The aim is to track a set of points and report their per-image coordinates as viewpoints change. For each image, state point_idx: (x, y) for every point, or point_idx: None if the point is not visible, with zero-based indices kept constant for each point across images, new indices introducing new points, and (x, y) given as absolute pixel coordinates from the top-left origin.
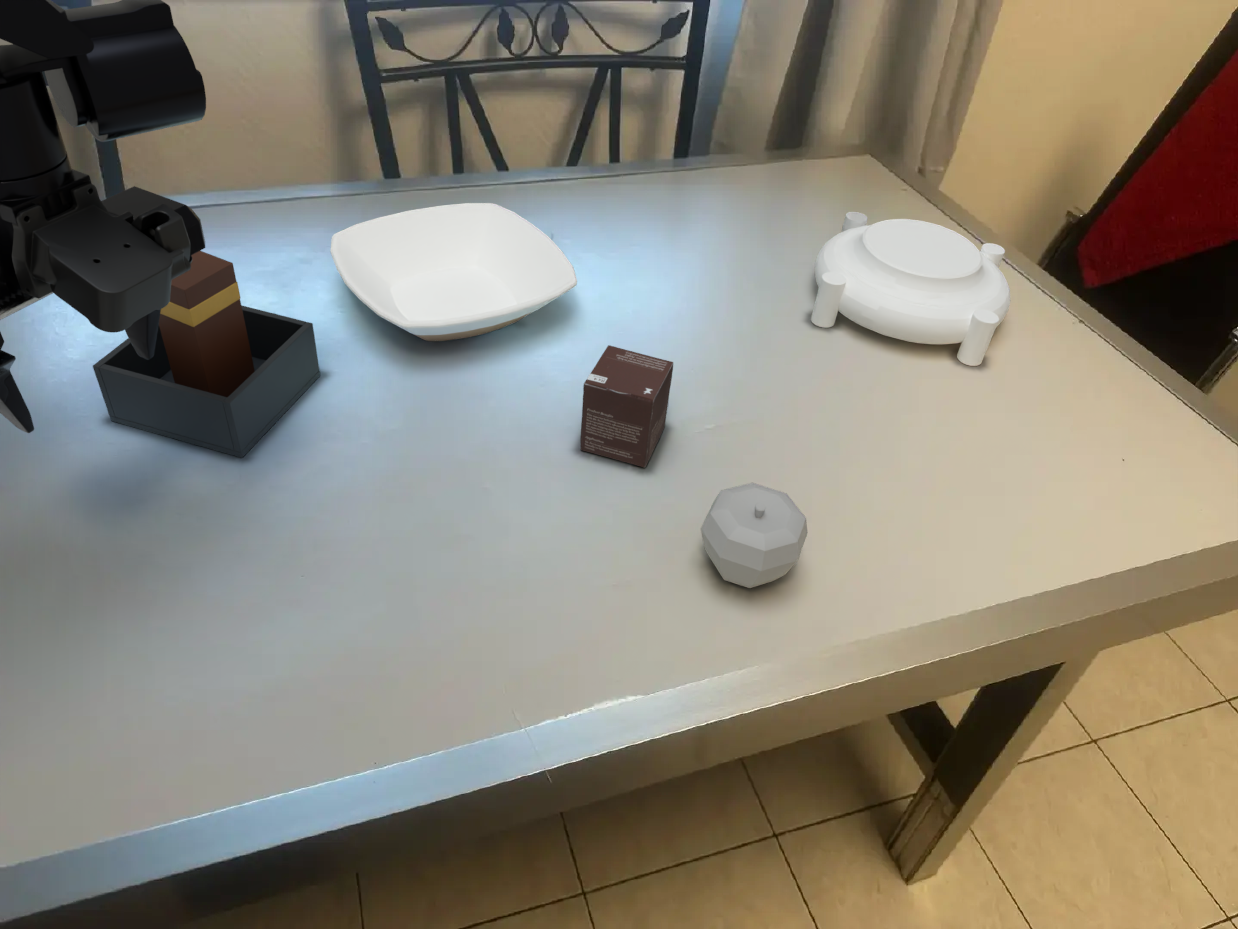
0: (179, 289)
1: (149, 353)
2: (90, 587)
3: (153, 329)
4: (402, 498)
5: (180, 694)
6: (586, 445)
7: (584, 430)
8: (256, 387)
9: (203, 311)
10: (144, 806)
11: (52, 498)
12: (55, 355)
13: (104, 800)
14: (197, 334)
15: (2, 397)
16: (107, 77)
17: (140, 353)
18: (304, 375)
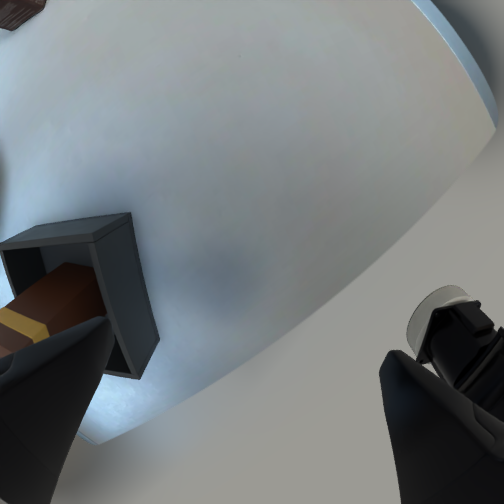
0: None
1: (99, 323)
2: (333, 223)
3: (52, 343)
4: (116, 51)
5: (394, 85)
6: (40, 3)
7: (32, 2)
8: (63, 233)
9: (27, 326)
10: (456, 73)
11: (254, 322)
12: (139, 398)
13: (463, 98)
14: (50, 317)
15: (484, 411)
16: None
17: (110, 339)
18: (38, 228)
